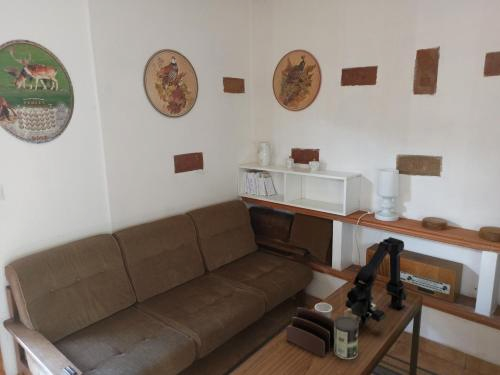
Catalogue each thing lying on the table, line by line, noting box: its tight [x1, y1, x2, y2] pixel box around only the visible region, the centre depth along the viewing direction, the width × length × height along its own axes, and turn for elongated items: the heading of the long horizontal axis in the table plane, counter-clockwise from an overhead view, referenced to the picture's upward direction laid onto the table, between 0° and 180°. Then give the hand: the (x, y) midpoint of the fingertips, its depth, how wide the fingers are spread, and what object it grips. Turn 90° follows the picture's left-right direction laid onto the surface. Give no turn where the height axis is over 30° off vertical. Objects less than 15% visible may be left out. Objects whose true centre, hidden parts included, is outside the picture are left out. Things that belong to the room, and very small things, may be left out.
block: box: [343, 308, 361, 324], centre depth 179 cm, size 4×7×5 cm, turn 40°
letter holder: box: [286, 306, 334, 359], centre depth 161 cm, size 10×20×14 cm, turn 49°
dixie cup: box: [314, 302, 333, 319], centre depth 175 cm, size 8×8×10 cm
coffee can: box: [333, 315, 360, 360], centre depth 155 cm, size 10×10×14 cm
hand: (364, 324), depth 173 cm, fingers closed
